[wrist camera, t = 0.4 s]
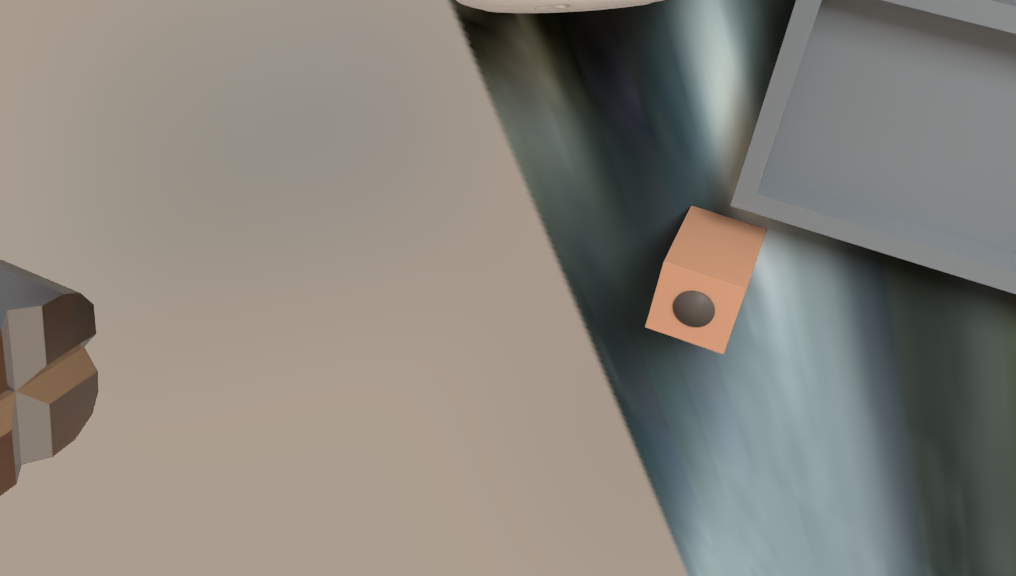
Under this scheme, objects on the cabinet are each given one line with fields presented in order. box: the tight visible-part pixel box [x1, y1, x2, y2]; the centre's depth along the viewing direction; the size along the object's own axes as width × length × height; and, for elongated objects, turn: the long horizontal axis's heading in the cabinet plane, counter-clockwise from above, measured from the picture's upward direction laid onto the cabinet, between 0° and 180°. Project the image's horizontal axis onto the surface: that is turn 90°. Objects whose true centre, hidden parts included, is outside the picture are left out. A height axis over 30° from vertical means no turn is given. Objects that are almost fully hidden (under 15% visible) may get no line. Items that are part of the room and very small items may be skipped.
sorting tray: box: [730, 0, 1016, 294], centre depth 42 cm, size 12×16×2 cm
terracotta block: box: [645, 206, 767, 354], centre depth 48 cm, size 4×4×6 cm
